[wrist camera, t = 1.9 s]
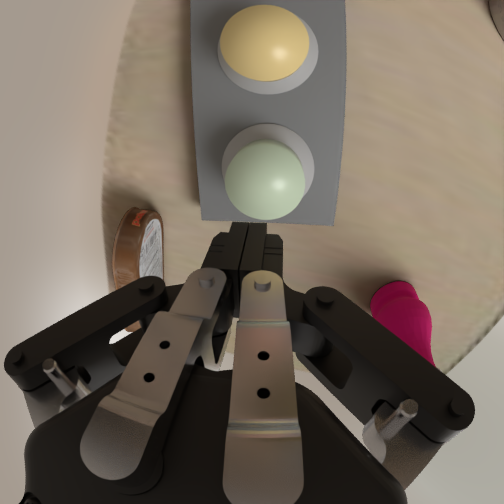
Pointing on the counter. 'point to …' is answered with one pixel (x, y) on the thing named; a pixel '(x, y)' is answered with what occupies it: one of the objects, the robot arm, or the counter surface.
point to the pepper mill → (404, 316)
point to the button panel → (270, 107)
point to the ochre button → (264, 43)
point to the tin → (138, 249)
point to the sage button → (265, 179)
